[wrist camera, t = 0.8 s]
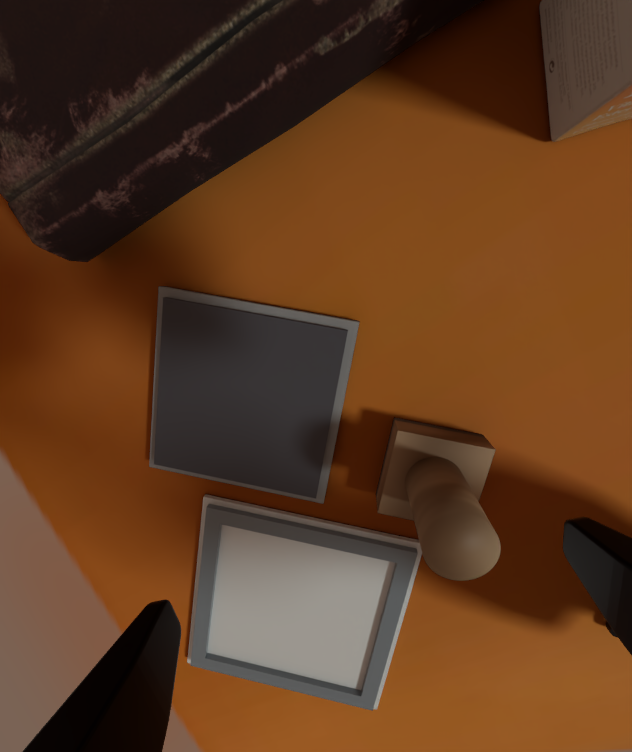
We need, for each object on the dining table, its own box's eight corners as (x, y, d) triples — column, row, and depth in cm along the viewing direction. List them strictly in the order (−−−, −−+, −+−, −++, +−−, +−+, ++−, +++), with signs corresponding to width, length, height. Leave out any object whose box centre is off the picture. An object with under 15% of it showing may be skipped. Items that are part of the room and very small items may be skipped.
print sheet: (423, 541, 22) (425, 549, 21) (376, 704, 26) (377, 715, 25) (205, 494, 23) (200, 500, 22) (189, 658, 26) (184, 668, 26)
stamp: (482, 434, 20) (545, 507, 13) (458, 510, 21) (505, 613, 15) (394, 416, 20) (412, 480, 14) (375, 493, 22) (384, 585, 15)
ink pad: (359, 321, 19) (359, 323, 18) (324, 498, 22) (322, 507, 21) (164, 286, 20) (154, 286, 19) (154, 462, 23) (145, 469, 22)
